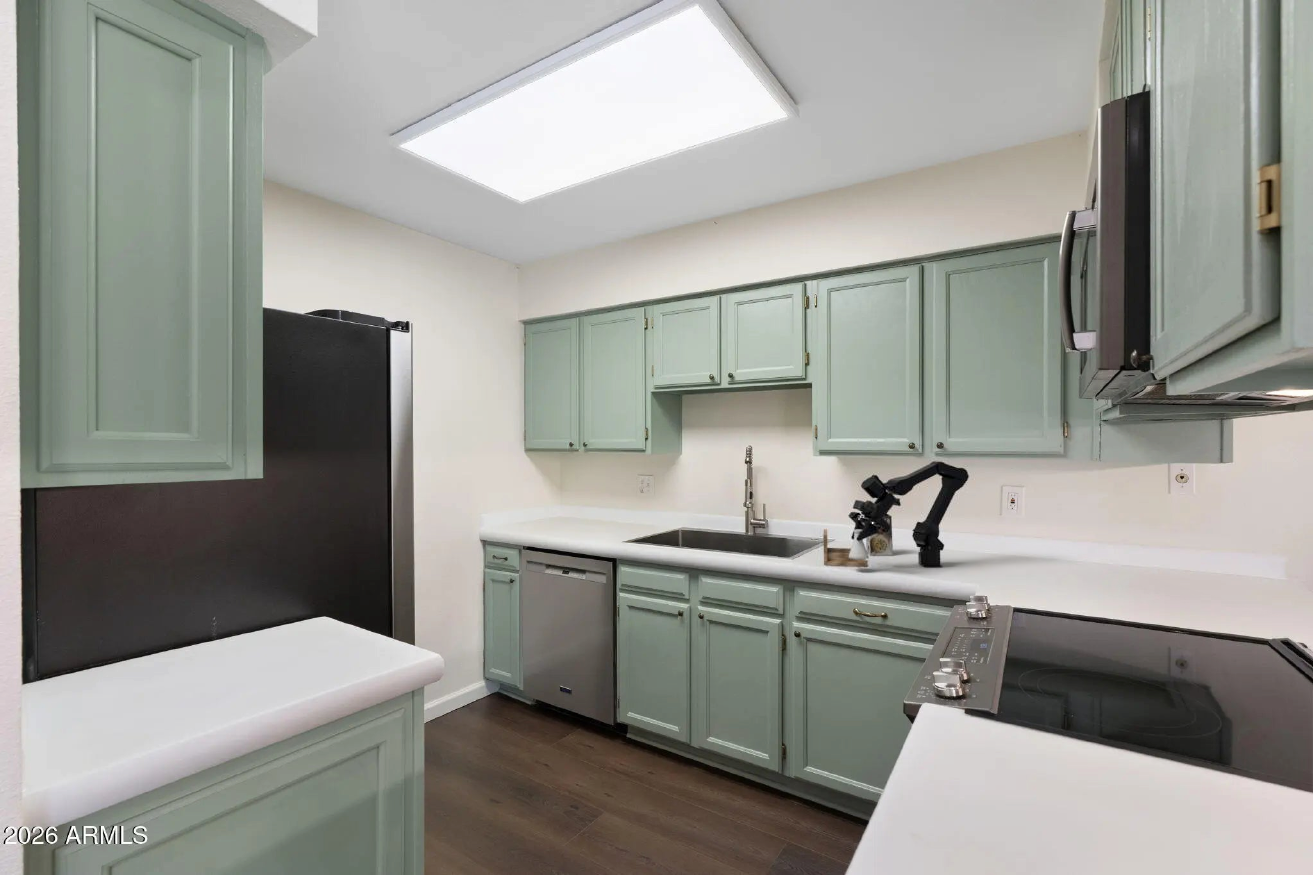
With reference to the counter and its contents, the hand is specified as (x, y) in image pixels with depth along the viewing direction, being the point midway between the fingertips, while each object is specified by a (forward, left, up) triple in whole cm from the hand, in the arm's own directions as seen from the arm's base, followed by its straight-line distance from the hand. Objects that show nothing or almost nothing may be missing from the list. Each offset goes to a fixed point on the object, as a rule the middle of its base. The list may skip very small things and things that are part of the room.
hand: (854, 539), depth 214 cm
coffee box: (-17, -31, -12) cm, 38 cm away
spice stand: (0, -15, -11) cm, 19 cm away
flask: (-1, -1, -7) cm, 7 cm away
